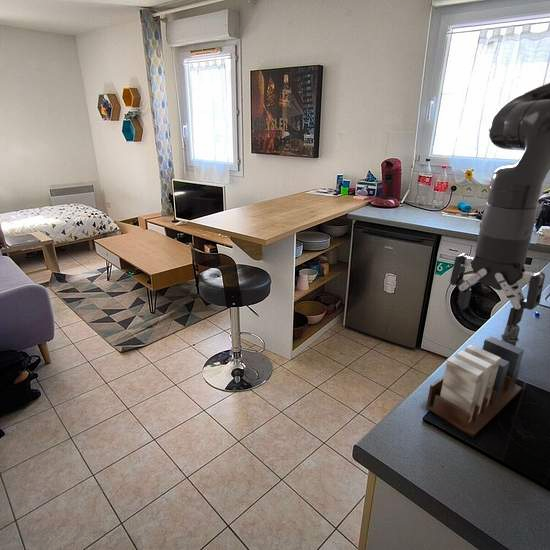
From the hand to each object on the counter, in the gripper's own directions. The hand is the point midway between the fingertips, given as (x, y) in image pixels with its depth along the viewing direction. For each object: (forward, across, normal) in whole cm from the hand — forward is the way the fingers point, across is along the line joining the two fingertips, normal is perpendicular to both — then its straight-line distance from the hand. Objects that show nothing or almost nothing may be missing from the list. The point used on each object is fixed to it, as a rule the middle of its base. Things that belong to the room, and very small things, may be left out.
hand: (486, 316), depth 67 cm
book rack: (+22, 0, -5) cm, 23 cm away
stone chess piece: (+23, +2, -23) cm, 32 cm away
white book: (+22, 0, 0) cm, 22 cm away
